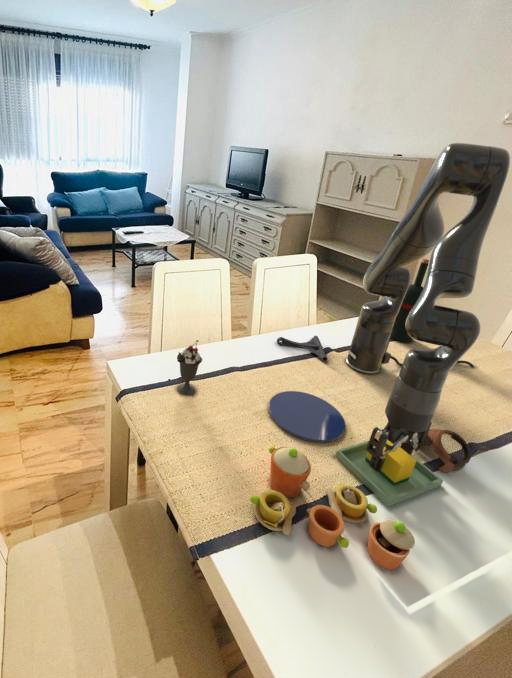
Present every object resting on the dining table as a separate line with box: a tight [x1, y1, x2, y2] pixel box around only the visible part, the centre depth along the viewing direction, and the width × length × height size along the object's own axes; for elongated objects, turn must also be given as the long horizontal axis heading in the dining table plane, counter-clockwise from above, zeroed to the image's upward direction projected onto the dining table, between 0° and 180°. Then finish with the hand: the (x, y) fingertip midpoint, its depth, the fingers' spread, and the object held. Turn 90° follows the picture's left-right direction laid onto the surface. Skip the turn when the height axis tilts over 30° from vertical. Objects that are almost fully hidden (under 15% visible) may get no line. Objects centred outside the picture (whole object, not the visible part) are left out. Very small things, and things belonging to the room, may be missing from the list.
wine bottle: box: [389, 257, 430, 344], centre depth 135 cm, size 8×10×30 cm
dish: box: [334, 440, 444, 508], centre depth 82 cm, size 15×13×2 cm
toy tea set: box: [250, 446, 416, 571], centre depth 70 cm, size 26×16×10 cm, turn 67°
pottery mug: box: [413, 427, 472, 473], centre depth 86 cm, size 12×9×8 cm
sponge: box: [365, 439, 418, 486], centre depth 81 cm, size 4×7×6 cm, turn 21°
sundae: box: [176, 339, 203, 397], centre depth 102 cm, size 7×7×15 cm
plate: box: [268, 390, 346, 444], centre depth 96 cm, size 18×18×1 cm
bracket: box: [276, 335, 329, 362], centre depth 129 cm, size 14×15×3 cm
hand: (388, 463), depth 81 cm, fingers open, 8 cm apart
